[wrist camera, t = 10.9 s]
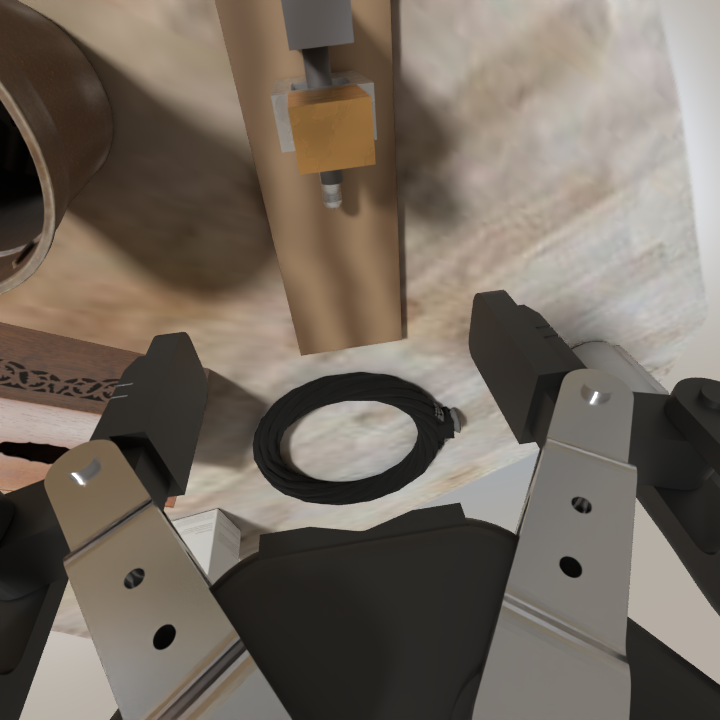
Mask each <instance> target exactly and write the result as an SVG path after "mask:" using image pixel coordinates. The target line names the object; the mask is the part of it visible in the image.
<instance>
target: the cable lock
mask: <svg viewBox="0 0 720 720" xmlns="http://www.w3.org/2000/svg"><path fill="white" fill-rule="evenodd" d="M343 401H378V402H381V403H385V404H389V405H392V406H395V407H397V408H399V409H400V410H402V411H404V412H405V413H407V414H408V415H410V416H411V417H412V419H413V420H414V422H415V424H416V426H417V430H418V436H417V441H416V443H415V446H414V448H413V449H412V451H411V452H410V453H409V454H408V455H407V456H406V457H405V458H404V459H403V460H402V462H400V463H399V464H397V465H396V466H394V467H392V468H391V469H389V470H387V471H385V472H384V473H382V474H380V475H376V476H373V477H370V478H366V479H363V480H360V481H352V482H338V483H328V482H324V481H319V480H314V479H309V478H306V477H303V476H301V475H299V474H298V473H296V472H295V471H293V470H292V469H290V468H289V467H288V466H287V465H286V464H285V463H284V462H283V461H282V459H281V457H280V441H281V438H282V436H283V433H284V431H285V430H286V429H287V427H289V426H290V425H291V424H293V423H294V422H295V421H297V420H298V419H299V418H301V417H302V416H304V415H305V414H307V413H309V412H310V411H312V410H314V409H317V408H320V407H323V406H326V405H330V404H334V403H339V402H343ZM454 431H456V432H458V433H460V431H461V423H460V420H459V417H458V414H457V412H456V411H455V410H454V409H453V408H451V410H450V411H449V412H448V410H447V408H446V406H445V407H443V408H440V407H439V406H438V405H437V404H436V403H435V402H433V401H432V400H430V399H428V398H427V397H426V396H425V395H424V394H423V393H422V392H421V391H420V390H419V389H417V388H416V387H414V386H413V385H410V384H406V383H404V382H402V381H400V380H398V379H396V378H394V377H390V376H386V375H377V374H368V373H348V374H342V375H334V376H325V377H322V378H319V379H317V380H314V381H311V382H308V383H306V384H305V385H303V386H300V387H298V388H295V389H293V390H291V391H290V392H289V393H287V394H286V395H284V396H283V397H281V398H280V399H279V400H278V401H276V402H275V403H274V404H273V405H272V407H271V408H270V409H269V410H268V412H267V413H266V415H265V416H264V417H263V418H262V419H261V421H260V423H259V425H258V427H257V430H256V432H255V435H254V441H253V454H254V460H255V462H256V463H257V465H258V468H259V469H260V471H261V472H262V474H263V475H264V477H265V478H266V479H267V480H268V481H269V483H270V484H271V485H272V486H273V487H274V488H276V489H277V490H279V491H280V492H282V493H283V494H285V495H288V496H291V497H294V498H297V499H300V500H302V501H304V502H310V503H318V504H330V505H346V504H355V503H359V502H367V501H371V500H374V499H377V498H380V497H383V496H385V495H387V494H390V493H393V492H396V491H399V490H400V489H401V488H403V487H404V486H406V485H407V484H409V483H410V482H412V481H413V480H415V479H416V478H418V477H419V476H420V475H422V474H423V473H424V472H425V471H426V469H427V468H428V466H429V464H430V463H431V462H432V461H433V459H434V458H435V456H436V453H437V451H438V449H439V450H441V449H442V447H443V446H444V443H445V442H446V439H447V438H454Z"/></svg>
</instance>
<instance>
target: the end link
mask: <svg viewBox="0 0 720 720" xmlns="http://www.w3.org/2000/svg"><path fill="white" fill-rule="evenodd" d="M331 78H332V85H330V86H323V87H315V88H307V82H306V76H304V77H296V78H288V79H281V80H275V82H274V86H273V89H272V93H271V100H272V105H273V110H274V115H275V120H276V125H277V130H278V135H279V140H280V145H281V150H282V153H283V152H291V151H296V157H297V162H298V168H299V174H300V175H303V174H310V173H317V172H319V175H320V172H324V171H331V170H339V169H346V168H353V167H360V166H368V165H375V164H376V161H375V145H374V140H377V130H376V113H375V97H374V82H372V81H371V80H369V79H368V78H366V77H364V76H363V75H361V74H360V73H358V72H356V71H355V70H351V71H343V72H335V73H331ZM320 182H321V176H320ZM321 189H322V196H323V202H324V204H325V206H326V207H327V208H329V209H332V210H334V209H337V208H339V207H340V205H341V203H342V194H341V185H340V183H339V184H335V185H323V184H322V183H321Z"/></svg>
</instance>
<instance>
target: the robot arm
mask: <svg viewBox="0 0 720 720" xmlns="http://www.w3.org/2000/svg"><path fill="white" fill-rule="evenodd" d="M469 349H470V353H471V357H472V359H473V361H474V363H475V364H476V366H477V368H478V370H479V372H480V374H481V375H482V377H483V379H484V381H485V383H486V384H487V386H488V388H489V390H490V392H491V394H492V395H493V397H494V399H495V401H496V403H497V404H498V406H499V408H500V410H501V412H502V414H503V415H504V417H505V419H506V421H507V423H508V424H509V426H510V428H511V430H512V432H513V434H514V435H515V437H516V439H517V441H518V443H519V444H524V443H531V442H536V443H537V445H538V446H539V448H540V450H539V453H538V457H537V460H536V464H535V467H534V471H533V474H532V477H531V481H530V484H529V487H528V491H527V494H526V498H525V501H524V505H523V508H522V512H521V515H520V518H519V521H518V525H517V528H516V531H515V534H514V533H512V532H511V531H509V530H506V529H504V528H502V527H500V526H498V525H495V524H492V523H489V522H486V521H482V520H477V519H473V518H465V515H464V513H463V509H462V507H461V504H460V503H455V504H449V505H442V506H436V507H431V508H424V509H418V510H412V511H409V512H407V513H405V514H403V515H400V516H398V517H396V518H393V519H391V520H389V521H387V522H384V523H382V524H380V525H377V526H375V527H373V528H371V529H368V530H365V531H350V530H339V529H328V528H317V527H306V528H300V529H294V530H287V531H281V532H275V533H269V534H263V535H260V542H259V552H256V553H254V554H252V555H250V556H249V557H247V558H245V559H243V560H242V561H240V562H239V563H237V564H236V565H234V566H233V567H232V568H230V569H229V570H228V571H227V572H225V573H224V574H223V575H222V576H221V577H220V578H219V579H218V580H217V581H216V582H215V583H214V584H213V583H212V581H211V580H210V578H209V577H208V575H207V574H206V573H205V571H204V570H203V568H202V567H201V565H200V564H199V562H198V561H197V559H196V558H195V556H194V555H193V553H192V552H191V550H190V549H189V547H188V546H187V544H186V543H185V541H184V540H183V538H182V537H181V535H180V534H179V532H178V531H177V529H176V528H175V526H174V525H173V523H172V522H171V520H170V519H169V517H168V516H167V514H166V513H165V511H164V507H165V503H166V499H167V497H173V496H180V495H185V491H186V487H187V483H188V478H189V474H190V470H191V466H192V461H193V457H194V453H195V449H196V444H197V440H198V436H199V431H200V427H201V423H202V419H203V414H204V410H205V406H206V402H207V397H208V382H207V377H206V374H205V372H204V369H203V367H202V365H201V362H200V360H199V358H198V355H197V353H196V351H195V348H194V346H193V344H192V341H191V339H190V337H189V335H188V334H187V333H186V332H179V333H172V334H164V335H157V336H155V337H154V338H153V340H152V343H151V345H150V347H149V349H148V351H147V354H146V356H139V357H138V358H136V359H135V360H134V361H133V362H132V363H131V364H130V365H129V366H128V367H127V368H126V369H125V370H124V372H123V374H122V376H121V378H120V380H119V382H118V384H117V386H118V387H116V388H115V390H114V392H113V394H112V396H111V397H112V399H111V400H109V402H108V404H107V406H106V408H105V410H104V412H103V414H102V416H101V418H100V420H99V422H98V424H97V426H96V428H95V430H94V432H93V434H92V436H91V438H90V440H89V442H85V443H83V444H80V445H78V446H76V447H74V448H72V449H71V450H69V451H67V452H66V453H65V454H63V455H62V456H61V457H60V458H59V459H57V460H56V461H55V463H54V464H53V465H52V466H51V467H50V469H49V470H48V472H47V474H46V477H45V479H43V480H41V481H38V482H36V483H33V484H30V485H28V486H25V487H23V488H20V489H17V490H15V491H12V492H10V493H7V494H3V493H2V492H1V491H0V720H19V718H20V715H21V712H22V710H23V707H24V704H25V701H26V698H27V695H28V693H29V690H30V687H31V684H32V681H33V678H34V676H35V673H36V670H37V667H38V664H39V661H40V658H41V656H42V653H43V650H44V647H45V644H46V642H47V639H48V636H49V633H50V630H51V627H52V625H53V622H54V619H55V616H56V613H57V610H58V608H59V605H60V602H61V599H62V596H63V594H64V591H65V588H66V585H67V582H68V579H69V580H70V583H71V586H72V588H73V591H74V593H75V596H76V599H77V601H78V604H79V606H80V609H81V612H82V614H83V617H84V619H85V622H86V625H87V627H88V630H89V632H90V635H91V637H92V640H93V643H94V645H95V648H96V650H97V653H98V656H99V658H100V661H101V663H102V666H103V668H104V671H105V674H106V676H107V679H108V682H109V684H110V687H111V689H112V692H113V695H114V697H115V700H116V702H117V705H118V709H117V711H116V712H115V713H114V715H113V716H112V717H111V719H110V720H720V685H719V684H718V683H716V682H715V681H714V680H712V679H711V678H710V677H708V676H707V675H706V674H704V673H703V672H702V671H700V670H699V669H698V668H696V667H695V666H694V665H692V664H691V663H689V662H688V661H687V660H685V659H684V658H683V657H681V656H680V655H679V654H677V653H676V652H675V651H673V650H672V649H671V648H669V647H668V646H667V645H665V644H664V643H663V642H661V641H660V640H658V639H657V638H656V637H655V636H653V635H652V634H650V633H649V632H648V631H646V630H645V629H644V628H642V627H641V626H640V625H638V624H637V623H636V622H634V621H633V620H632V619H630V618H629V617H628V616H627V613H628V599H629V585H630V571H631V557H632V543H633V542H632V541H633V528H634V515H635V514H634V513H635V499H636V498H637V499H638V500H639V502H640V503H641V504H642V506H643V507H644V509H645V510H646V511H647V513H648V514H649V516H650V517H651V518H652V520H653V521H654V522H655V524H656V525H657V526H658V528H659V529H660V531H661V532H662V533H663V535H664V536H665V538H666V539H667V541H668V542H669V544H670V545H671V547H672V548H673V549H674V551H675V552H676V554H677V555H678V557H679V559H680V560H681V562H682V563H683V565H684V566H685V568H686V569H687V571H688V572H689V574H690V575H691V577H692V578H693V580H694V581H695V583H696V584H697V586H698V587H699V589H700V590H701V592H702V593H703V594H704V596H705V597H706V599H707V600H708V602H709V603H710V604H711V606H712V607H713V608H714V610H715V611H716V612H717V613H718V615H719V616H720V382H719V381H716V380H711V379H706V378H687V379H684V380H681V381H680V382H678V383H677V384H676V386H675V387H674V389H673V391H672V392H671V394H670V395H669V393H668V391H667V390H665V388H664V387H662V385H661V384H660V383H659V382H658V381H656V380H655V379H654V378H653V377H652V376H651V375H650V374H649V373H648V372H647V371H646V370H645V369H644V368H643V367H642V366H641V365H640V364H639V363H638V362H637V361H636V360H635V359H633V358H632V357H631V356H630V355H629V354H628V353H627V352H626V351H625V350H624V349H623V348H622V347H621V346H612V345H610V344H608V343H606V342H599V341H595V342H589V343H585V344H582V345H580V346H578V347H575V348H574V349H572V350H571V349H570V348H569V346H568V345H567V344H566V343H565V342H564V341H563V340H562V338H561V337H558V334H557V333H556V332H555V330H554V329H553V328H552V327H551V328H550V325H549V324H548V323H547V321H546V320H545V319H544V318H543V317H542V316H541V315H540V314H539V313H538V312H536V311H534V310H532V309H531V308H529V307H527V306H525V305H518V306H517V304H516V303H515V302H514V301H513V299H512V298H511V297H510V296H509V295H508V293H507V292H506V291H504V290H498V291H490V292H483V293H477V294H476V295H475V297H474V300H473V307H472V315H471V324H470V332H469Z"/></svg>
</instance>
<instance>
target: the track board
mask: <svg viewBox="0 0 720 720" xmlns="http://www.w3.org/2000/svg"><path fill="white" fill-rule="evenodd" d="M215 3H216V7H217V11H218V15H219V19H220V23H221V27H222V32H223V36H224V40H225V44H226V48H227V52H228V56H229V60H230V65H231V69H232V73H233V77H234V81H235V85H236V89H237V93H238V98H239V102H240V106H241V110H242V114H243V118H244V122H245V126H246V130H247V135H248V139H249V143H250V147H251V151H252V155H253V159H254V163H255V168H256V172H257V176H258V180H259V184H260V188H261V192H262V196H263V200H264V205H265V209H266V213H267V217H268V221H269V225H270V229H271V233H272V238H273V242H274V246H275V250H276V254H277V258H278V262H279V266H280V270H281V275H282V279H283V283H284V287H285V291H286V295H287V299H288V303H289V308H290V312H291V316H292V320H293V324H294V328H295V332H296V336H297V340H298V345H299V349H300V353H301V356H302V355H308V354H315V353H321V352H327V351H334V350H340V349H346V348H353V347H359V346H365V345H372V344H378V343H384V342H391V341H397V340H402V330H401V301H400V272H399V242H398V213H397V184H396V154H395V125H394V96H393V66H392V37H391V7H390V0H215ZM351 70H355V71H356V72H358V73H360V74H361V75H363V76H364V77H366V78H368V79H369V80H371V81H372V82H374V97H375V113H376V130H377V140H374V145H375V161H376V164H375V165H368V166H360V167H353V168H346V169H339V170H331V171H324V172H320V175H319V172H317V173H310V174H303V175H300V174H299V168H298V162H297V157H296V151H291V152H283V153H282V150H281V145H280V140H279V135H278V130H277V125H276V120H275V115H274V110H273V105H272V100H271V93H272V89H273V86H274V82H275V80H281V79H288V78H296V77H304V76H306V82H307V88H315V87H323V86H330V85H332V78H331V73H335V72H343V71H351ZM320 176H321V182H320ZM321 183H322V184H323V185H335V184H339V183H340V185H341V194H342V203H341V205H340V207H339V208H337V209H334V210H332V209H329V208H327V207H326V206H325V204H324V202H323V196H322V189H321Z"/></svg>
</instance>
